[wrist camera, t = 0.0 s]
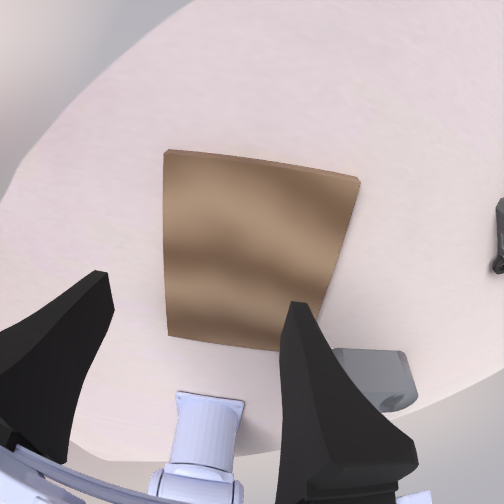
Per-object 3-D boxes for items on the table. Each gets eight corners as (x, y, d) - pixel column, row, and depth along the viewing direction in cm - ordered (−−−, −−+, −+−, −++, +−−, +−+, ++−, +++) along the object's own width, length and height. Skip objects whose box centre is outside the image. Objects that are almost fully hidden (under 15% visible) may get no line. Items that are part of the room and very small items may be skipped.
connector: (395, 373, 30) (405, 411, 26) (284, 369, 30) (284, 411, 25) (412, 351, 28) (425, 390, 24) (293, 344, 27) (295, 389, 23)
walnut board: (302, 345, 27) (302, 353, 27) (170, 327, 27) (168, 335, 26) (356, 177, 19) (360, 182, 18) (168, 149, 18) (163, 153, 18)
